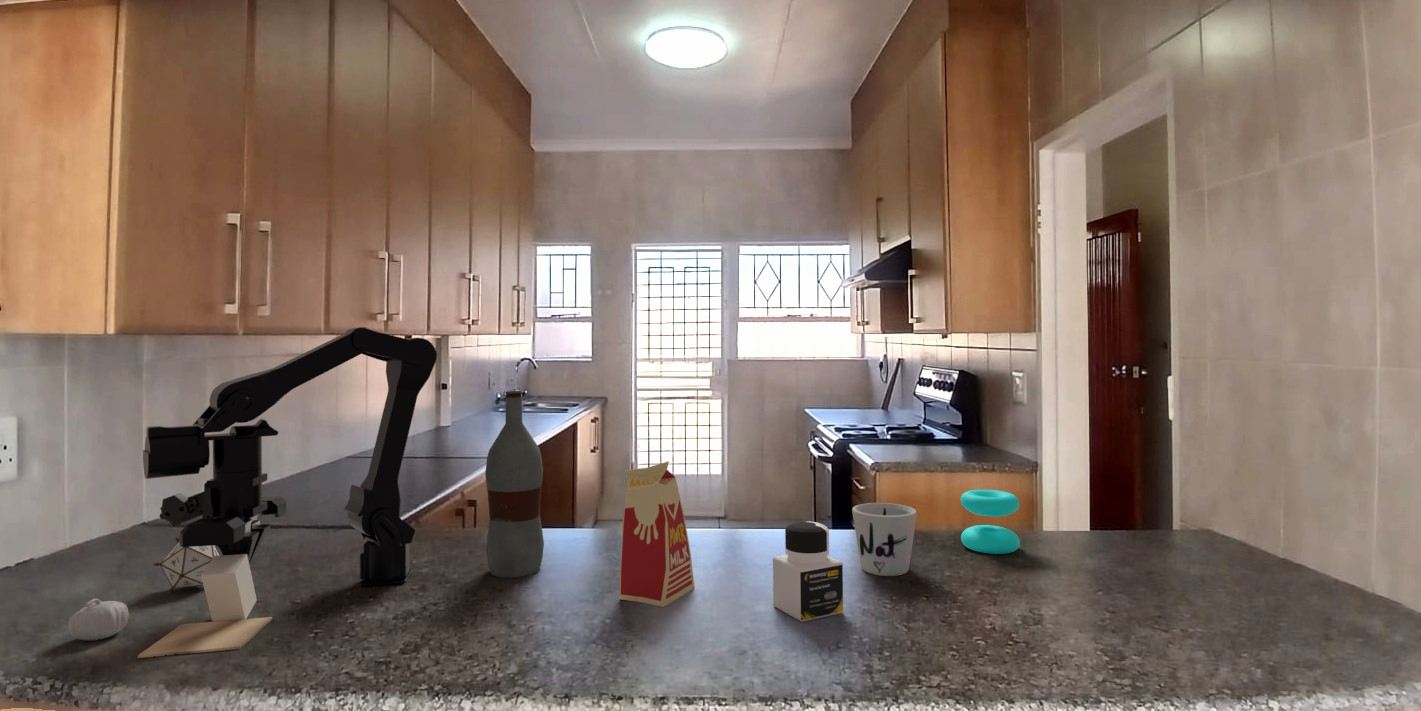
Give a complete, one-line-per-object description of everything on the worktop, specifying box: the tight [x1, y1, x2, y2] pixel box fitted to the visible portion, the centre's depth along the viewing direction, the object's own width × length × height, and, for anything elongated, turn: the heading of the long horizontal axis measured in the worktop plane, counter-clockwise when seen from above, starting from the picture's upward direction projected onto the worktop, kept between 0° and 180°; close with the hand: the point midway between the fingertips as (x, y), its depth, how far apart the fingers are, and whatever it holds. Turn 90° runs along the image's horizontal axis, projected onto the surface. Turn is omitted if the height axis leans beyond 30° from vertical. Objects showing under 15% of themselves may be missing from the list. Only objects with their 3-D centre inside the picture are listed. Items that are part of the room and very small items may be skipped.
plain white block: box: [201, 554, 257, 622], centre depth 96 cm, size 4×4×8 cm
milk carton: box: [618, 461, 695, 608], centre depth 105 cm, size 9×9×20 cm
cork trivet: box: [137, 616, 273, 659], centre depth 90 cm, size 11×10×1 cm
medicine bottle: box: [772, 520, 844, 623], centre depth 97 cm, size 7×7×12 cm
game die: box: [152, 536, 221, 594], centre depth 109 cm, size 9×8×10 cm
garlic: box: [67, 598, 130, 641], centre depth 90 cm, size 6×5×5 cm
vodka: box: [484, 390, 545, 579], centre depth 117 cm, size 9×9×30 cm
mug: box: [851, 502, 918, 577], centre depth 117 cm, size 10×15×10 cm
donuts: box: [960, 489, 1021, 555], centre depth 127 cm, size 10×10×10 cm
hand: (238, 580), depth 98 cm, fingers closed
